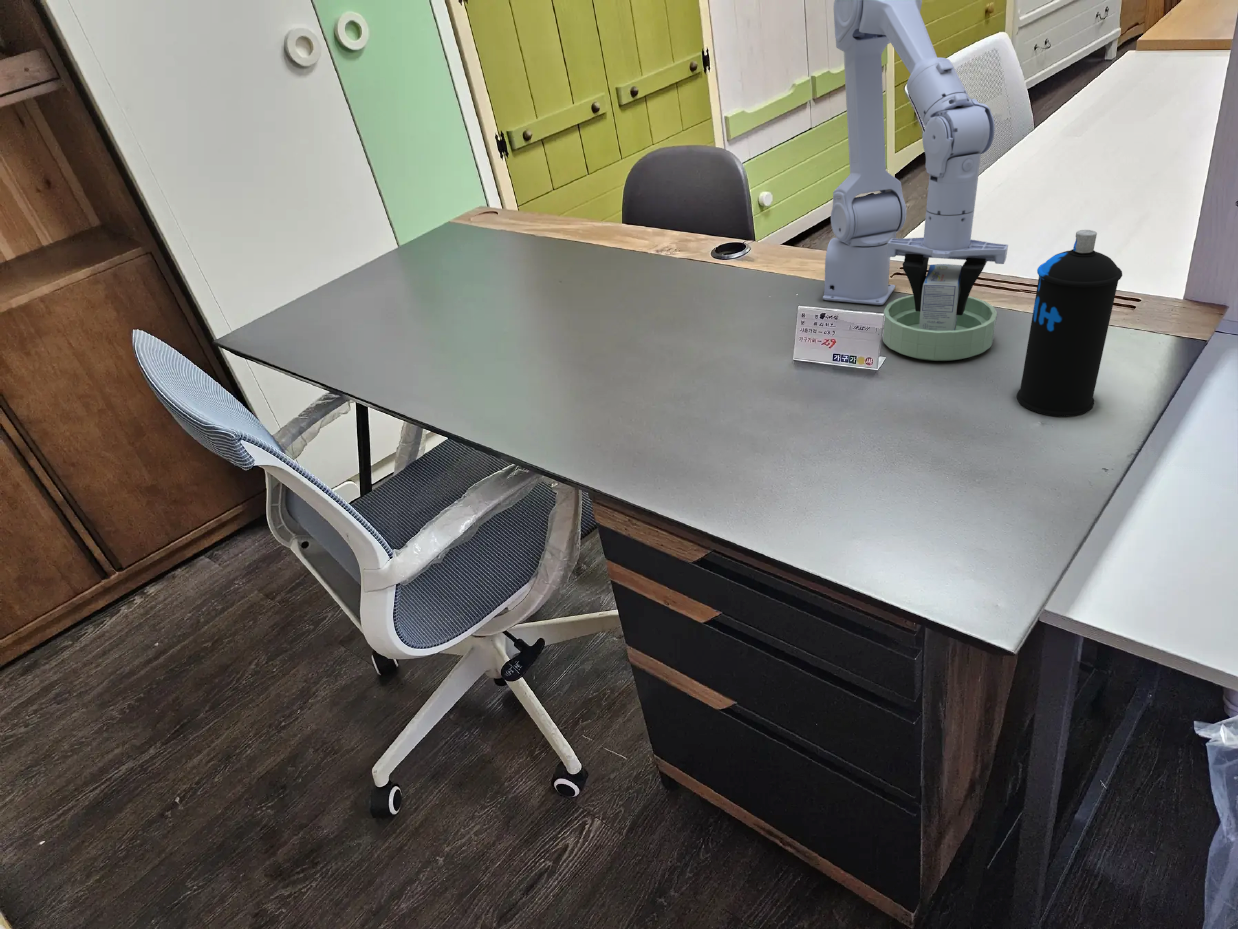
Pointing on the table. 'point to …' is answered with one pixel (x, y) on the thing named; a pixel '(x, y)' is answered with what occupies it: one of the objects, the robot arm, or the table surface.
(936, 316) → the medicine box
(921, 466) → the table surface
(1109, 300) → the aerosol can
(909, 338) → the bowl
